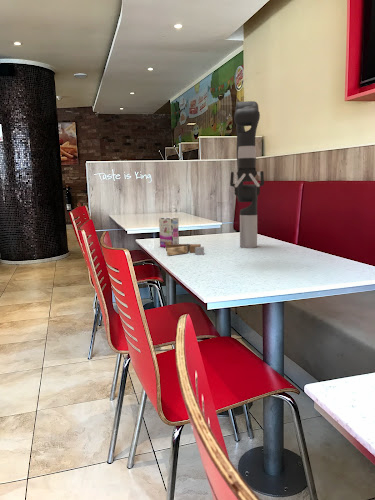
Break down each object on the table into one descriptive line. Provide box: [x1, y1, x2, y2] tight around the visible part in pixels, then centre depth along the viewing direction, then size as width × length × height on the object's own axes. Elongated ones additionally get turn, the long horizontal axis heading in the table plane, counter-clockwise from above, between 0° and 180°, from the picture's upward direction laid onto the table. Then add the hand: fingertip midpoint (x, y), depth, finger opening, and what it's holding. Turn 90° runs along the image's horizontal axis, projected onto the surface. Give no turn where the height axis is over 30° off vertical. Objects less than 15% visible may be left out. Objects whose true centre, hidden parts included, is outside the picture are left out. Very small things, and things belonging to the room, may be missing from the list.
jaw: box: [166, 246, 189, 256], centre depth 211 cm, size 11×3×3 cm, turn 127°
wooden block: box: [165, 243, 202, 254], centre depth 218 cm, size 7×18×4 cm, turn 82°
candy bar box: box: [158, 217, 180, 249], centre depth 234 cm, size 11×5×16 cm, turn 42°
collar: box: [194, 246, 205, 256], centre depth 211 cm, size 4×4×4 cm
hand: (246, 196), depth 184 cm, fingers open, 8 cm apart
